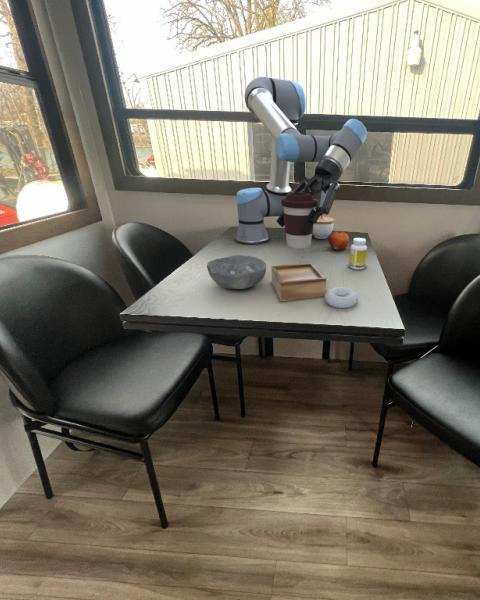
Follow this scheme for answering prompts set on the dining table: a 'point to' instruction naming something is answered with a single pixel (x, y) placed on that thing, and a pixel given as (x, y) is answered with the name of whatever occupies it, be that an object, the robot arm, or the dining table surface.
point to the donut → (341, 297)
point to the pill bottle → (358, 253)
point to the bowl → (237, 271)
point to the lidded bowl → (323, 227)
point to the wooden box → (298, 281)
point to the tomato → (338, 240)
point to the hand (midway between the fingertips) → (290, 227)
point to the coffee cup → (297, 218)
